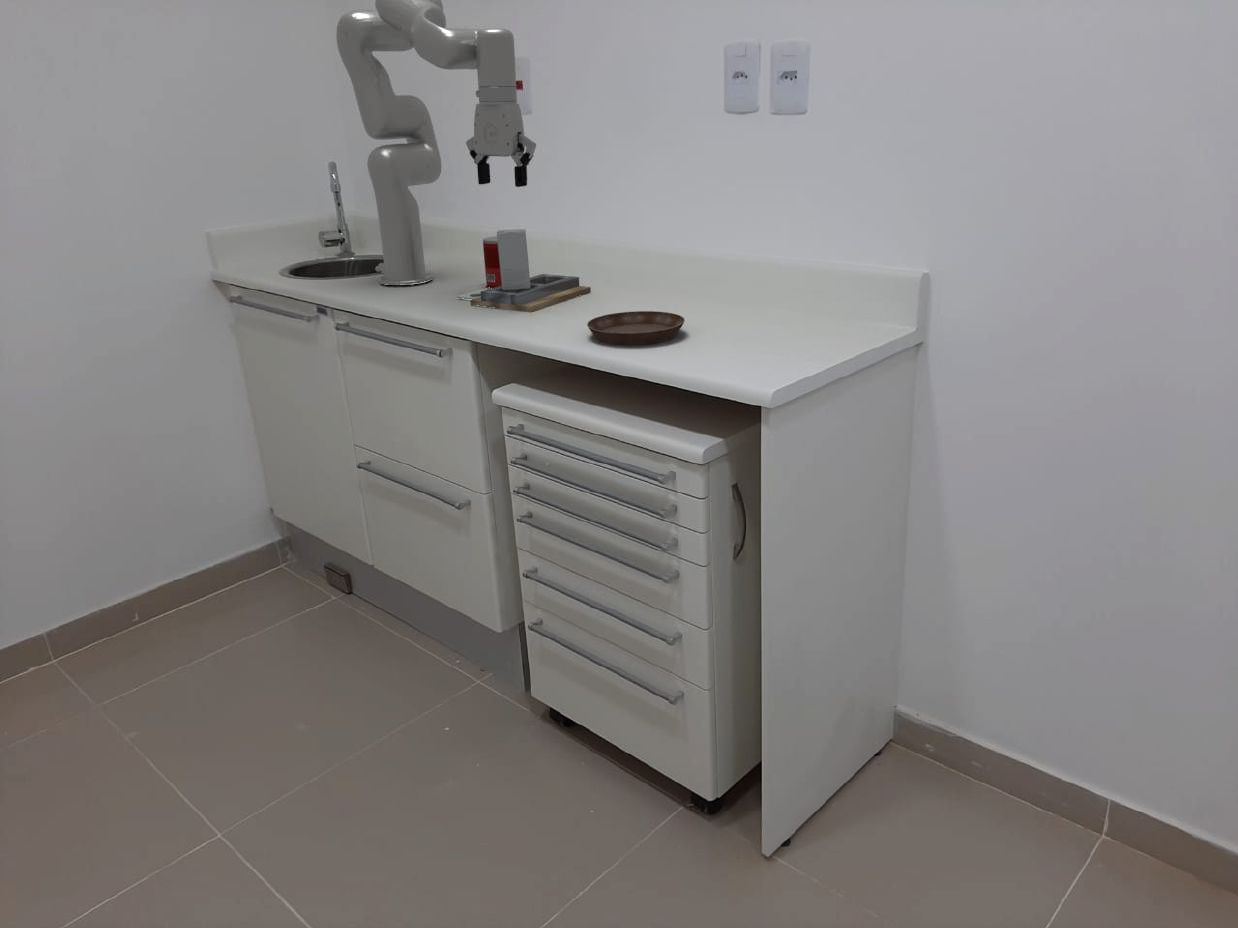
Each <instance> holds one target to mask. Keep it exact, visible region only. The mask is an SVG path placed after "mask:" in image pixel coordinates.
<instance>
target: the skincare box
mask: <svg viewBox="0 0 1238 928" xmlns="http://www.w3.org/2000/svg"><path fill="white" fill-rule="evenodd" d="M526 232H527V230H526V229H525V228H521V229H520V228H518V229H517V228H516V229H501V230H500V229H499V230H497V232H496V236H497V241H498V251H499V261H500V272H501V282H502V290H517V289H530V277H531V276H530V267H529V254H528V244H527V243H528V242H527V233H526Z"/></svg>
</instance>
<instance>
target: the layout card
mask: <svg viewBox="0 0 1238 928" xmlns="http://www.w3.org/2000/svg"><path fill="white" fill-rule="evenodd" d="M488 289H489V288H488V287H487V288H483V289H478V290H474V291H471V292H467V293H464V294H463V293H462V294H459V295H456V296H455V297H457V298H464V299H475V298H479V297H481V293H480V292H481V291H485V290H488Z"/></svg>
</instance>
